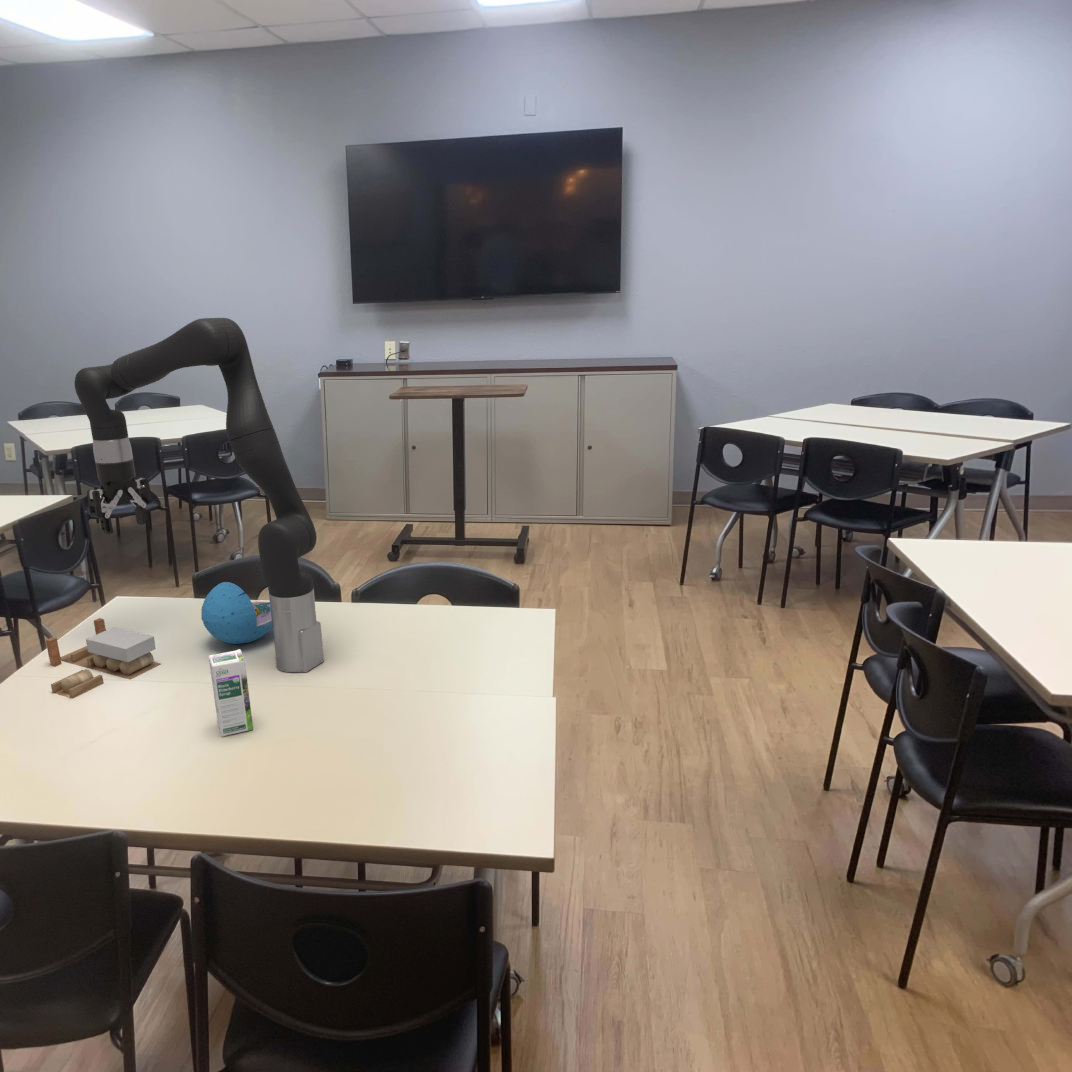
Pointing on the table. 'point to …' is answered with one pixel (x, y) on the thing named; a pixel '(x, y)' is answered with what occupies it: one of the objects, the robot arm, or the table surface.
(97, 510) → the robot arm
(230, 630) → the educational model
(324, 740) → the table surface
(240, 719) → the syrup box
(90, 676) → the dowel
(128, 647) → the slab
